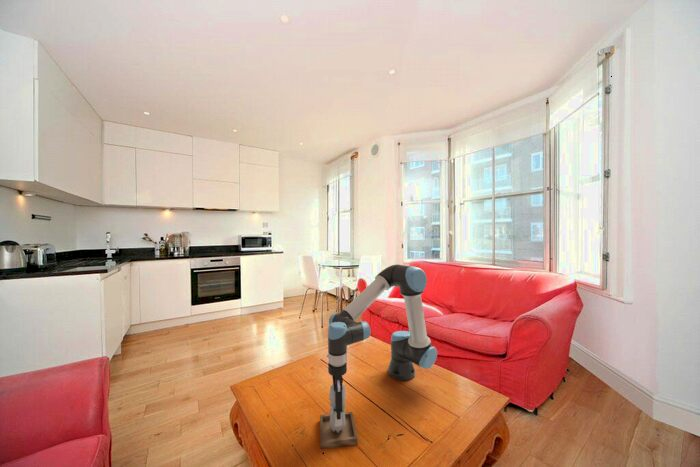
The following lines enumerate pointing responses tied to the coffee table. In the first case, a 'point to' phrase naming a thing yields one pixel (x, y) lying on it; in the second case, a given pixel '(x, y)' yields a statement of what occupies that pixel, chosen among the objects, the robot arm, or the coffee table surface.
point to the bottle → (332, 407)
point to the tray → (337, 439)
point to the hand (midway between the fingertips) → (337, 418)
